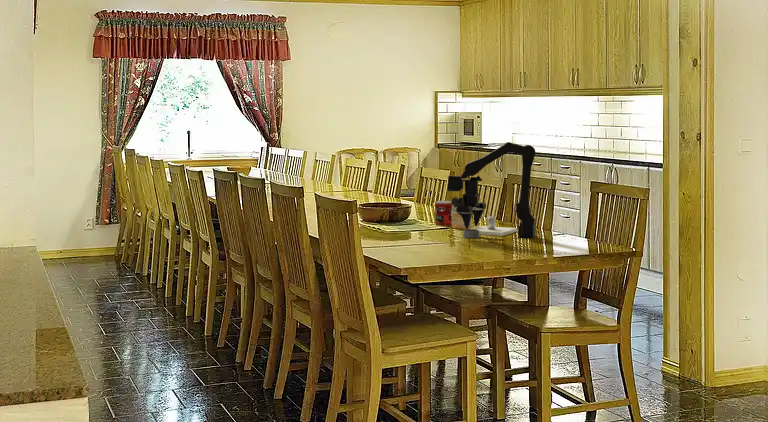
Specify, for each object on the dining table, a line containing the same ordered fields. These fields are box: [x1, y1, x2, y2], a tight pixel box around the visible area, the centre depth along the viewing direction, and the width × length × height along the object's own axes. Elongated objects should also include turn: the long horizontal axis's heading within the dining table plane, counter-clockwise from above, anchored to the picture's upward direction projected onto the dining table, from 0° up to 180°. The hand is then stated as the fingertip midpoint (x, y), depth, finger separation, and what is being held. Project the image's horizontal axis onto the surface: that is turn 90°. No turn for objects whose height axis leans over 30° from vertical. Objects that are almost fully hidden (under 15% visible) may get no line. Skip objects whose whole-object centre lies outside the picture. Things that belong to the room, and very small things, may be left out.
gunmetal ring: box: [462, 228, 480, 239], centre depth 411 cm, size 7×7×3 cm
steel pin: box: [486, 216, 496, 230], centre depth 424 cm, size 4×4×6 cm
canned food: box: [434, 200, 452, 226], centre depth 454 cm, size 8×8×11 cm
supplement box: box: [451, 205, 472, 230], centre depth 439 cm, size 8×5×13 cm, turn 62°
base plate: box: [470, 225, 518, 237], centre depth 425 cm, size 18×16×2 cm
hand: (471, 227), depth 411 cm, fingers open, 9 cm apart
